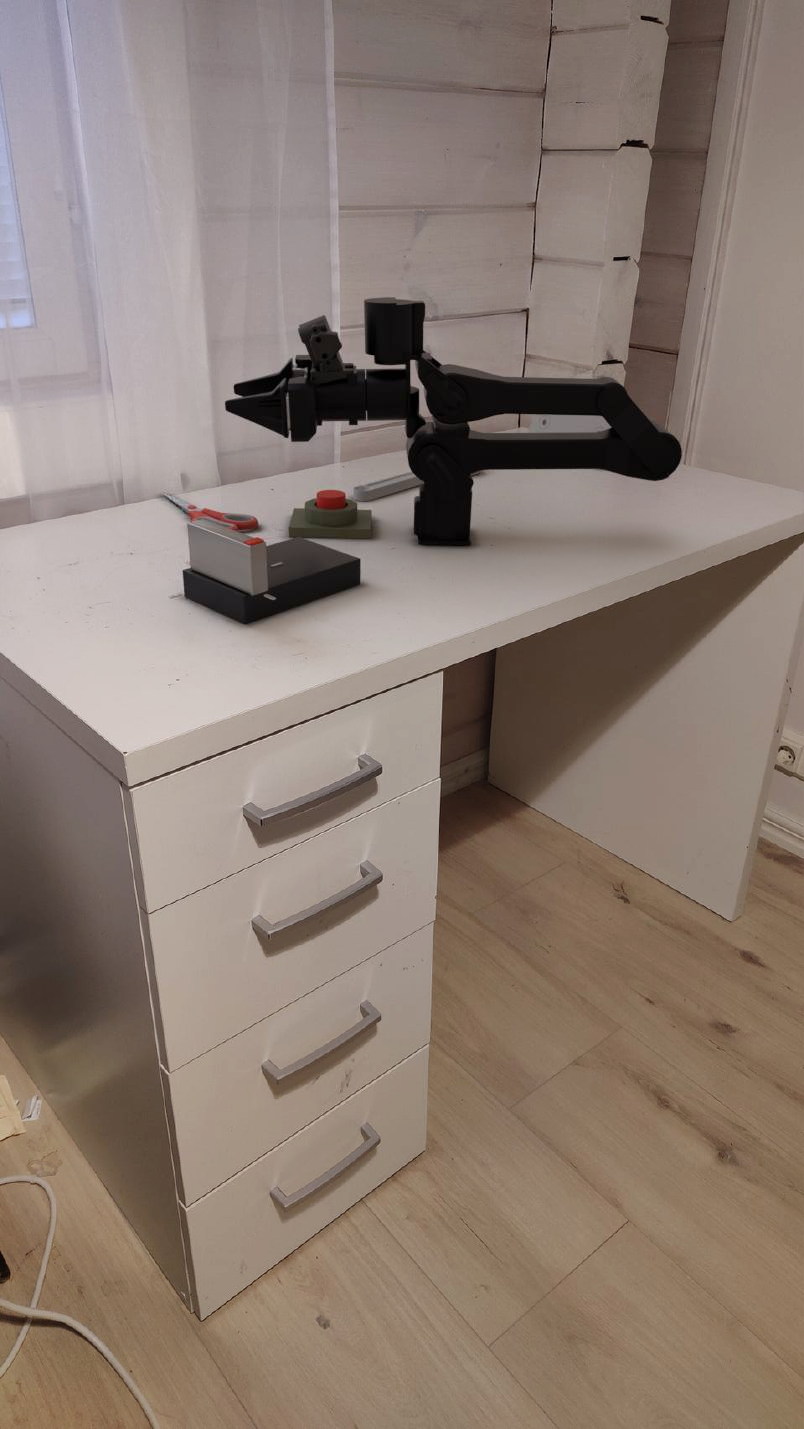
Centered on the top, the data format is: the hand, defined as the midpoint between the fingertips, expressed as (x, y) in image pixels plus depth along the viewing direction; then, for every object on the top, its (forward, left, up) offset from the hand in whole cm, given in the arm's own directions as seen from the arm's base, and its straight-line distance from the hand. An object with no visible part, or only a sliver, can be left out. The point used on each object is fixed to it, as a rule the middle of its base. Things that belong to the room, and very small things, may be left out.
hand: (229, 397), depth 116 cm
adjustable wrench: (-22, -26, -17) cm, 38 cm away
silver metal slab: (-2, +23, -13) cm, 27 cm away
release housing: (-11, -4, -16) cm, 20 cm away
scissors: (+7, -7, -17) cm, 19 cm away
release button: (-11, -4, -14) cm, 18 cm away
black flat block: (-5, +21, -16) cm, 27 cm away
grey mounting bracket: (-48, -44, -17) cm, 67 cm away
